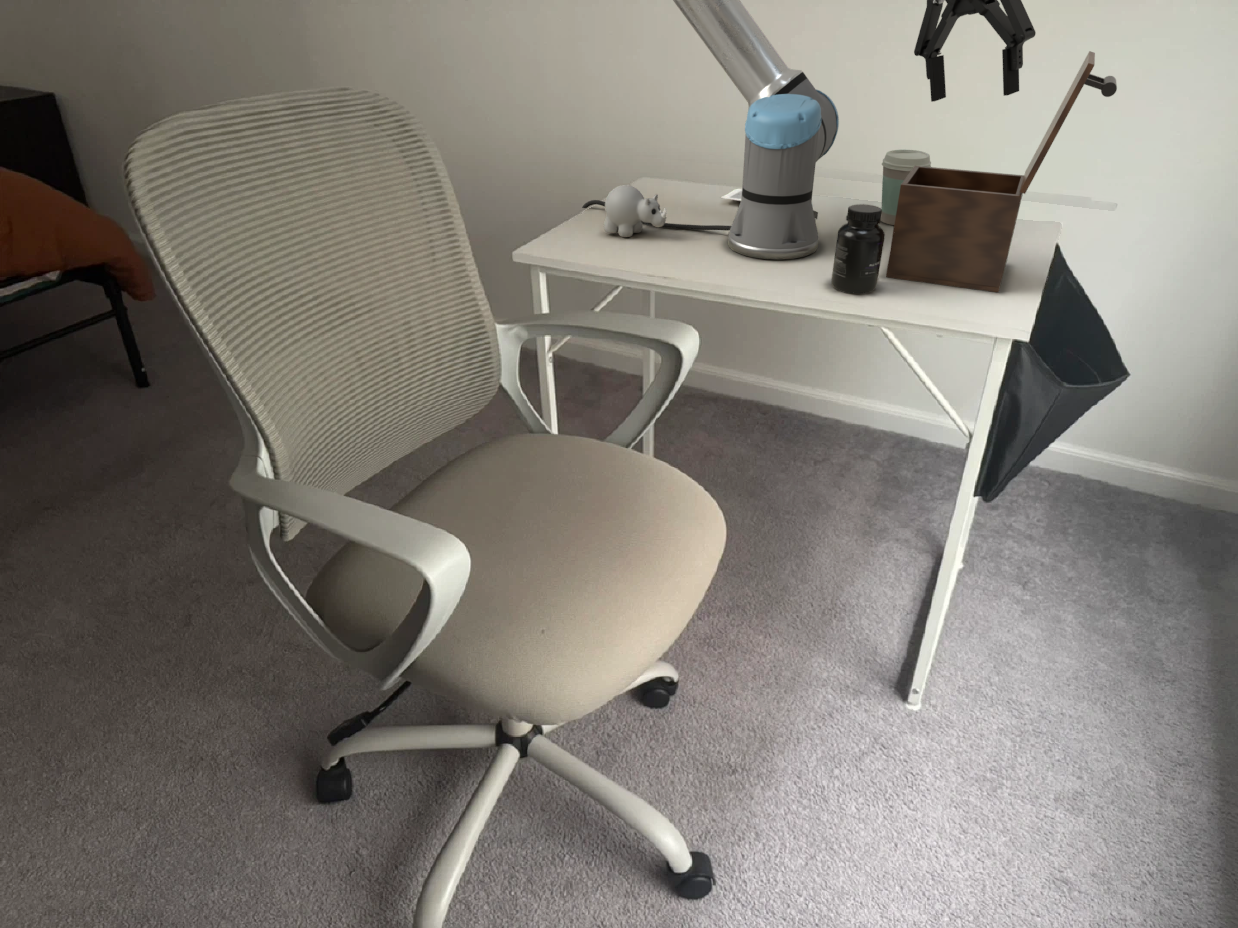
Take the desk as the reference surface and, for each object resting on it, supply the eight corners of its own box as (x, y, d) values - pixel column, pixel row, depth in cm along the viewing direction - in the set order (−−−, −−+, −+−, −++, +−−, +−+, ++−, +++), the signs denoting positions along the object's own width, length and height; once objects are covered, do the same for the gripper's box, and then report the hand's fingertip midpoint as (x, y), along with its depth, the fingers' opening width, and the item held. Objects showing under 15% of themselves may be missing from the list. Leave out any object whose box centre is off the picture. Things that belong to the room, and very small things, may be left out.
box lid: (1088, 62, 110) (1127, 75, 109) (1089, 50, 120) (1125, 62, 118) (1019, 191, 121) (1054, 204, 120) (1025, 171, 130) (1057, 183, 129)
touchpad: (736, 193, 176) (737, 183, 174) (806, 203, 169) (807, 192, 168) (720, 203, 170) (720, 192, 169) (791, 213, 163) (792, 202, 162)
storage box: (885, 277, 134) (900, 184, 127) (900, 253, 144) (914, 165, 136) (998, 292, 128) (1021, 196, 121) (1005, 266, 138) (1027, 175, 130)
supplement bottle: (877, 296, 128) (890, 215, 121) (830, 293, 129) (840, 213, 122) (875, 280, 133) (887, 202, 127) (830, 277, 135) (840, 200, 128)
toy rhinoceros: (654, 246, 148) (655, 196, 144) (597, 235, 154) (596, 187, 149) (675, 235, 153) (676, 187, 149) (619, 225, 159) (618, 178, 155)
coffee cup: (926, 218, 160) (938, 151, 154) (914, 230, 154) (926, 161, 148) (881, 212, 164) (890, 146, 158) (867, 223, 158) (877, 156, 152)
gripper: (1061, -79, 119) (1061, 84, 128) (917, -43, 139) (926, 96, 148) (1026, -70, 116) (1029, 96, 125) (884, -34, 136) (896, 107, 145)
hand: (973, 96), depth 137 cm, fingers open, 13 cm apart
